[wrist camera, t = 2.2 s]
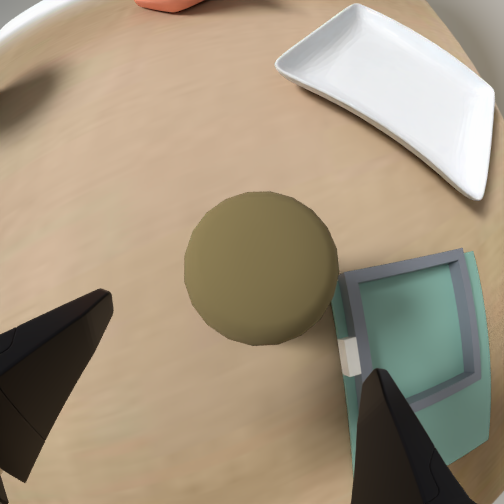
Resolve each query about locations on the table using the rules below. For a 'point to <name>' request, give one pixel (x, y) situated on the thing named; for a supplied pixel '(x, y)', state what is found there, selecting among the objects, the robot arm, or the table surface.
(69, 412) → the table surface
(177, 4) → the teapot
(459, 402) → the board
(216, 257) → the cork
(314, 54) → the salad plate
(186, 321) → the table surface
